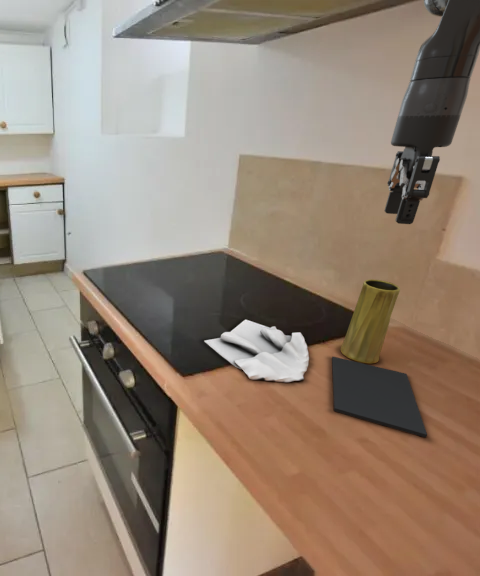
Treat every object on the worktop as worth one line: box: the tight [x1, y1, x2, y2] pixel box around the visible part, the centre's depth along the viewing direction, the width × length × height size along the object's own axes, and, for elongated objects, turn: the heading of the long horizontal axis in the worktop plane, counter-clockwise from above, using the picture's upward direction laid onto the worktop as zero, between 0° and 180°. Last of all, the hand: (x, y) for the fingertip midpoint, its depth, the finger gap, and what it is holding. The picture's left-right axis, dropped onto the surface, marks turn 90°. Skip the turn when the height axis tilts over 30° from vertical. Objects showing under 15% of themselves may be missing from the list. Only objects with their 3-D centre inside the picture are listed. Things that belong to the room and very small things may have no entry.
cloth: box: [203, 319, 310, 384], centre depth 73 cm, size 20×22×2 cm
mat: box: [331, 356, 428, 438], centre depth 61 cm, size 11×16×1 cm
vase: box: [340, 278, 401, 365], centre depth 68 cm, size 6×6×14 cm
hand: (397, 218), depth 64 cm, fingers open, 8 cm apart
